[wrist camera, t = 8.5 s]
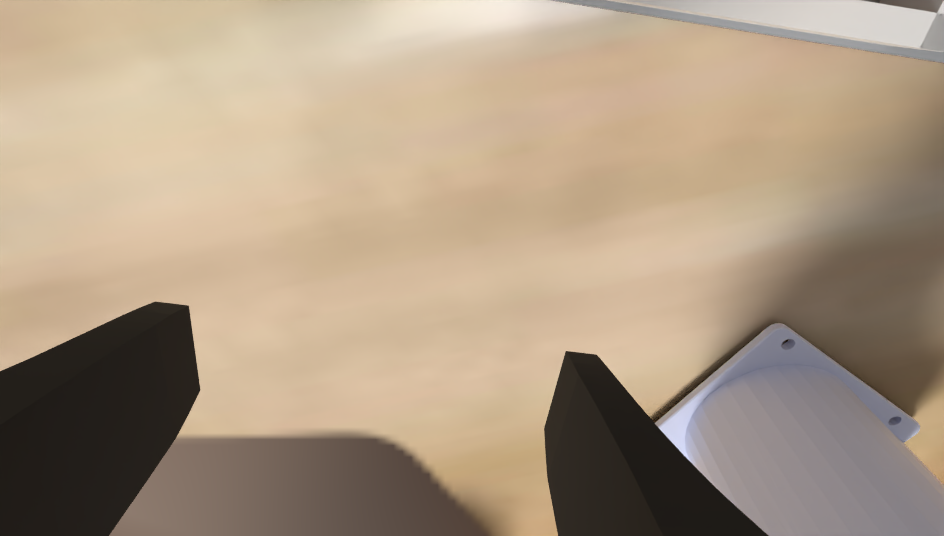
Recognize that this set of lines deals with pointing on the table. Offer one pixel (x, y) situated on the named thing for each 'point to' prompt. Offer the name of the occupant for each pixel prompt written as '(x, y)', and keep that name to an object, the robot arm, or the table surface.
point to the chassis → (812, 21)
